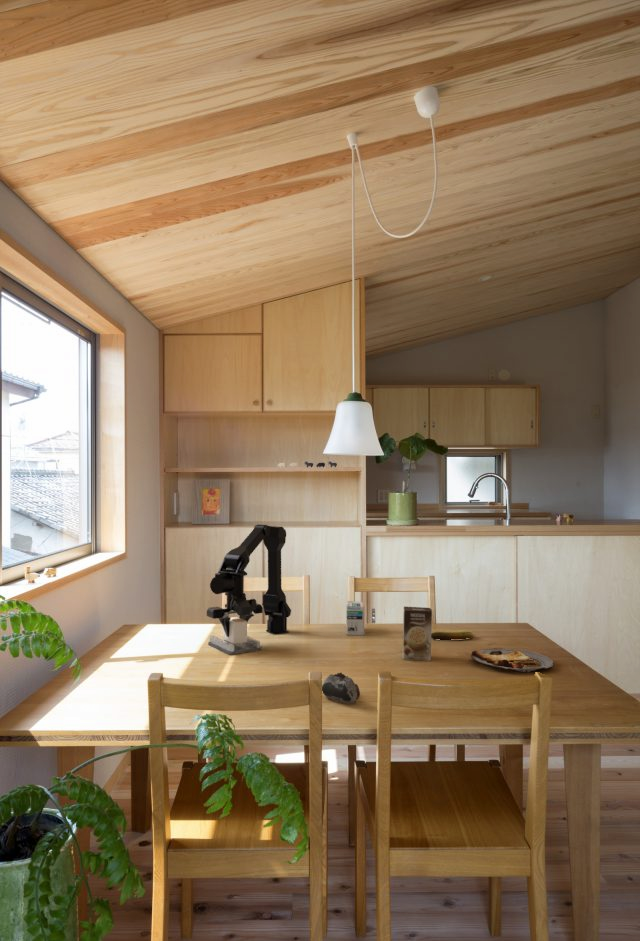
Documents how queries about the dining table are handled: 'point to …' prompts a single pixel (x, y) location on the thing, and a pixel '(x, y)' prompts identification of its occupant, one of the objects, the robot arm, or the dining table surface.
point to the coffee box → (417, 633)
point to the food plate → (511, 659)
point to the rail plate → (234, 645)
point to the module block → (236, 630)
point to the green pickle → (451, 635)
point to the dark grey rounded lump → (340, 688)
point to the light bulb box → (355, 618)
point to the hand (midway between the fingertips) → (234, 635)
